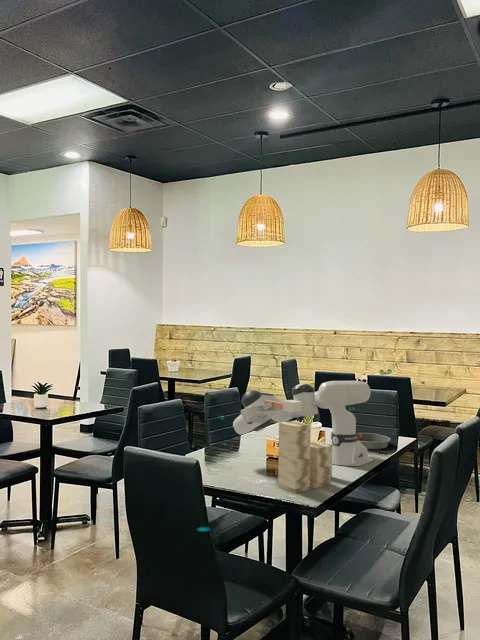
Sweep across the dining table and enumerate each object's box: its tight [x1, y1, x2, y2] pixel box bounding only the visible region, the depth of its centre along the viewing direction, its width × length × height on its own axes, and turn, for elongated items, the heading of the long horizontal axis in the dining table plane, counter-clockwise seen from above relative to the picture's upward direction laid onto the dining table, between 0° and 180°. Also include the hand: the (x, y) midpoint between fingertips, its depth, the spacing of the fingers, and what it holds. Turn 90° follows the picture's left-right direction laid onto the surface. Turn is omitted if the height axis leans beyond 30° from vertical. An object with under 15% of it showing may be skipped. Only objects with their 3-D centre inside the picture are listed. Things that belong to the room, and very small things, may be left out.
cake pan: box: [356, 432, 392, 450], centre depth 310 cm, size 25×25×4 cm
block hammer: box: [264, 399, 302, 412], centre depth 243 cm, size 5×20×4 cm, turn 39°
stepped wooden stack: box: [277, 420, 332, 494], centre depth 231 cm, size 20×10×26 cm, turn 127°
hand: (275, 403), depth 246 cm, fingers closed on block hammer, 2 cm apart
